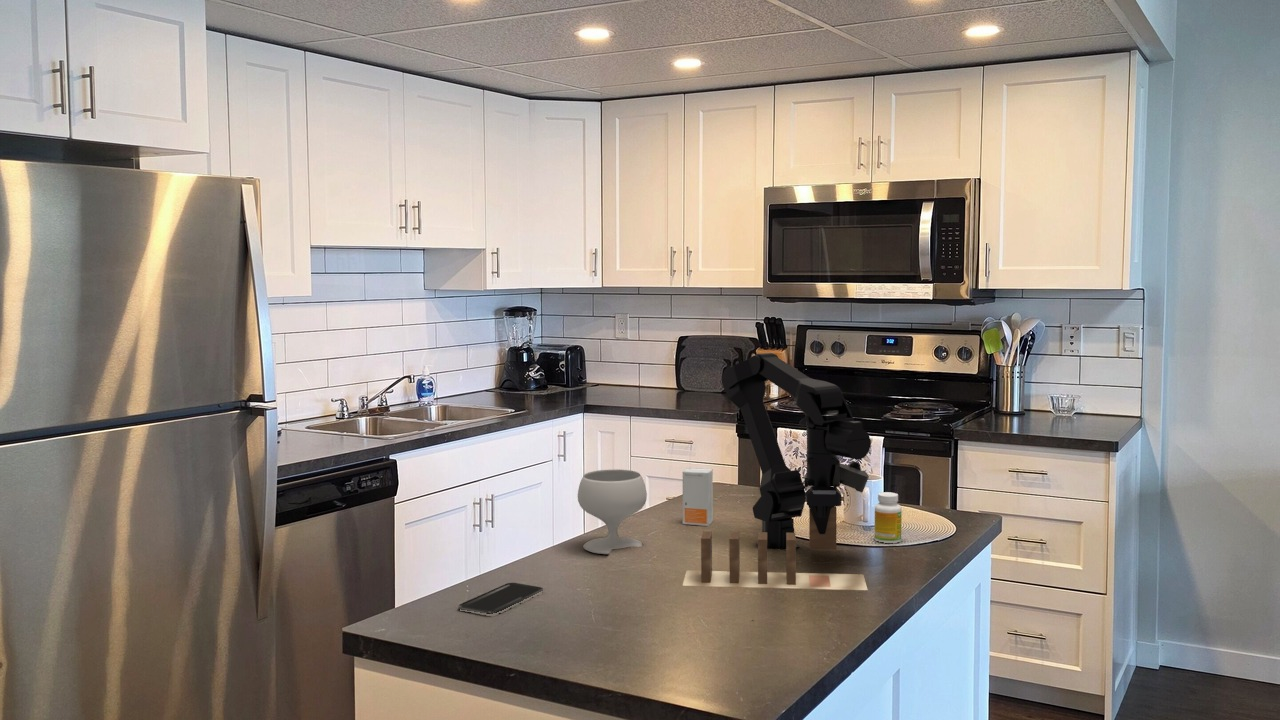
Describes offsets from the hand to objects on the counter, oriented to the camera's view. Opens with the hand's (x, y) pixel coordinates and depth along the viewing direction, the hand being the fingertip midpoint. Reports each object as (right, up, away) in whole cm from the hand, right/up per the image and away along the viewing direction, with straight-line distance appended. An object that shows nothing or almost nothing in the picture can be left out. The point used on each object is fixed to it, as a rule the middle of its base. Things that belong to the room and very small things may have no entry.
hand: (822, 532), depth 200 cm
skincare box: (-22, -4, +32) cm, 39 cm away
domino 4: (-8, -6, -12) cm, 16 cm away
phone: (-58, -9, -18) cm, 62 cm away
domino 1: (-23, -7, -11) cm, 26 cm away
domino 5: (0, -3, 0) cm, 3 cm away
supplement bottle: (+16, -5, +16) cm, 23 cm away
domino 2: (-18, -7, -11) cm, 22 cm away
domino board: (-11, -8, -12) cm, 18 cm away
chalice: (-40, -6, +14) cm, 43 cm away
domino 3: (-13, -7, -12) cm, 18 cm away
